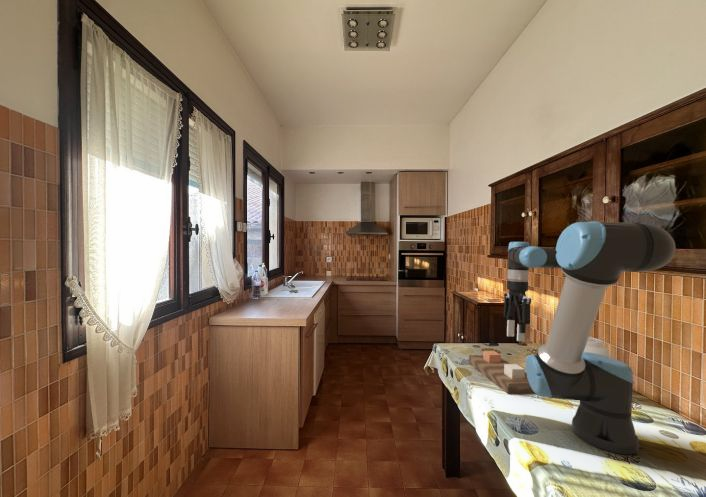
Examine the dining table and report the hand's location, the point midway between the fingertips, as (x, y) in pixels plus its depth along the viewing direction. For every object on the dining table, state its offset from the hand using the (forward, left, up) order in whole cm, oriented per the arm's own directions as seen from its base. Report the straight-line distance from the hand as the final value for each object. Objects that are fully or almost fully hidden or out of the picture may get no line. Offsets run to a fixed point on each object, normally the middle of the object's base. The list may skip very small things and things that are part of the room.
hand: (515, 338), depth 123 cm
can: (-4, -29, -19) cm, 35 cm away
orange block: (+16, 0, -16) cm, 23 cm away
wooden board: (+8, 0, -19) cm, 20 cm away
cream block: (0, 0, -16) cm, 16 cm away
